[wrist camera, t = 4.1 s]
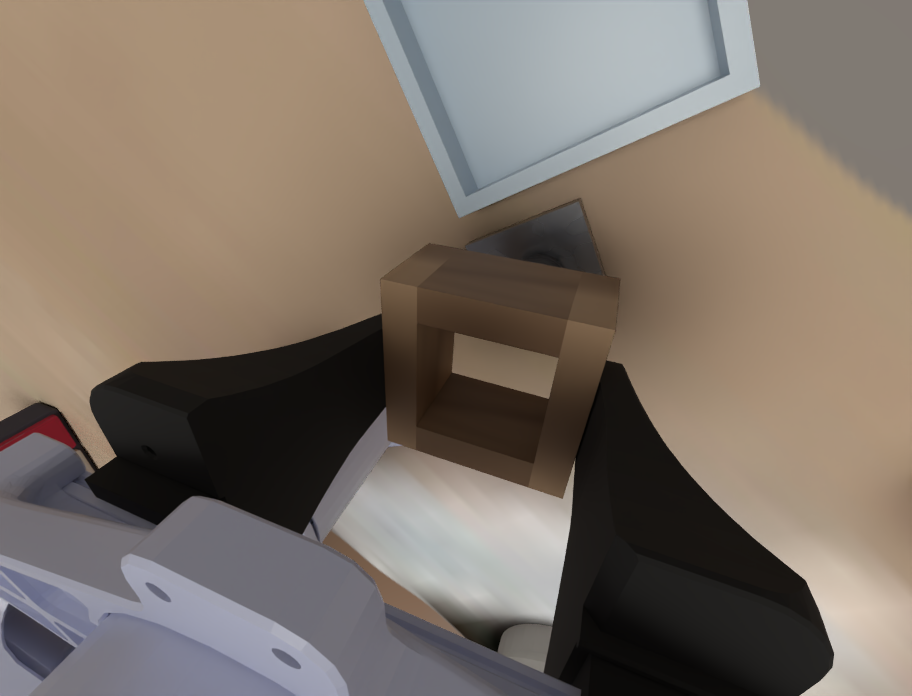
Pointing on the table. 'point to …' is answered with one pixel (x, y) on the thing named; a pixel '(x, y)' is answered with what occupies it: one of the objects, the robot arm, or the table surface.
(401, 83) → the tray
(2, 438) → the upright black prism
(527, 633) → the flag stand
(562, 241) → the metal knob
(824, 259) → the table surface
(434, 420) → the brown wooden frame
